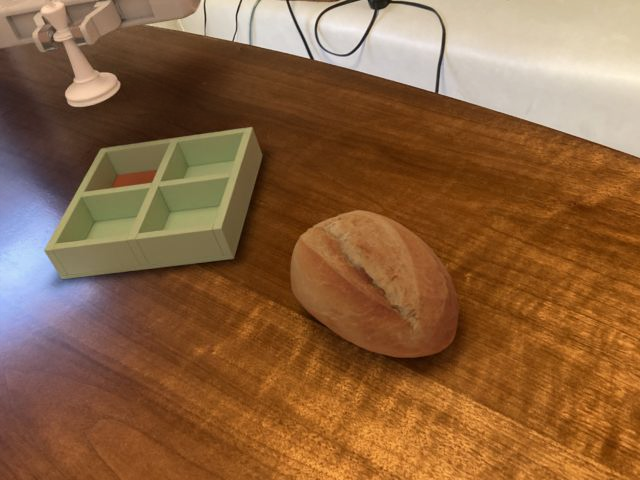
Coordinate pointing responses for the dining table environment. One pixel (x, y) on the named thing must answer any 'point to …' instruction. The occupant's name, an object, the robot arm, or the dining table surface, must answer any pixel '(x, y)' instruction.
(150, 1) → the robot arm
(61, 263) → the grid
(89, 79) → the chess piece
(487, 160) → the dining table surface
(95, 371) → the dining table surface
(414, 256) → the bread roll
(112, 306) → the dining table surface
